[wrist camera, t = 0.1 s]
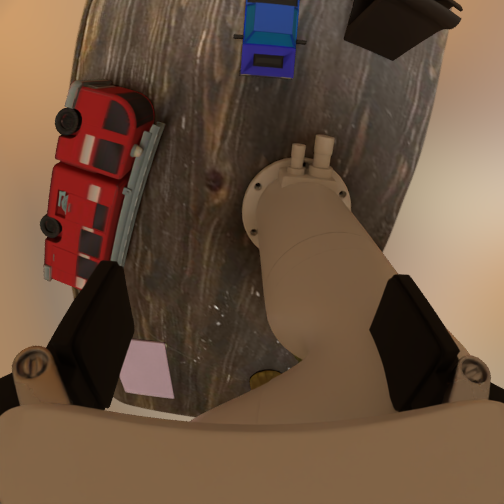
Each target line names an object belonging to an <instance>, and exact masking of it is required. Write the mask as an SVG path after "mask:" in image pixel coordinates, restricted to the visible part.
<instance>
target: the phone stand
mask: <svg viewBox="0 0 504 504" xmlns="http://www.w3.org/2000/svg"><path fill="white" fill-rule="evenodd" d="M451 7H455V8H456V9H458V10H459V11H462V10H463V9H462V7H461V6H460V5H459V4H458V3H456V2H455V1H454V0H354V4H353V8H352V11H351V15H350V19H349V22H348V26H347V30H346V33H345V37H344V40H346V41H348V42H351V43H353V44H356V45H358V46H361V47H363V48H366V49H368V50H370V51H373V52H375V53H377V54H379V55H382V56H384V57H386V58H388V59H390V60H392V61H393V60H395V59H396V58H398V57H399V56H401V55H402V54H404V53H405V52H407V51H408V50H410V49H411V48H413V47H414V46H416V45H418V44H419V43H421V42H422V41H424V40H425V39H427V38H428V37H430V36H432V35H433V34H435V33H436V32H438V31H440V30H443V29H452V28H454V27H456V26H457V25H458V24H459V22H460V20H461V18H460V17H458V16H457V15H456V14H454V13H453V12H451V11H450V10H449V9H450V8H451Z"/></svg>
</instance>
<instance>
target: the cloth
mask: <svg viewBox="0 0 504 504" xmlns="http://www.w3.org/2000/svg"><path fill="white" fill-rule="evenodd" d="M120 379H121V381H122V384H123V387H124V389H125V392H129V393H135V394H142V395H149V396H156V397H164V398H173V399H174V393H173V388H172V383H171V377H170V372H169V366H168V360H167V354H166V348H165V342H156V341H147V340H138V339H132V340H131V343H130V345H129V348H128V351H127V354H126V357H125V360H124V363H123V366H122V369H121V372H120Z"/></svg>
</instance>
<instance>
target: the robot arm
mask: <svg viewBox="0 0 504 504" xmlns="http://www.w3.org/2000/svg"><path fill="white" fill-rule="evenodd" d="M334 139H335V138H334V137H331V136H327V135H320V134H316V138H315V145H314V159H311V158H307V157H305V149H306V145H304V144H299V143H293V144H292V151H291V156H292V157H291V158H285V159H282V160H279V161H276V162H274V163H272V164H270V165H268V166H266V167H265V168H264V169H263V170H261V171H260V172H259V173H258V174H257V175H256V176H255V177H254V179H253V180H252V181H251V182H250V184H249V186H248V188H247V190H246V192H245V195H244V199H243V204H242V220H243V224H244V228H245V230H246V232H247V234H248V236H249V238H250V239H251V241H252V242H253V243H254V245H256V246H257V247H258V248H259V250H260V260H261V271H262V281H263V291H264V301H265V309H266V314H267V319H268V322H269V325H270V328H271V330H272V332H273V334H274V335H275V337H276V338H277V339H278V341H279V342H280V343H281V344H282V345H283V346H284V347H285V348H286V349H287V350H289V351H290V352H291V353H292V354H294V355H295V356H297V357H298V358H300V359H302V361H301V362H299V363H298V364H297V365H296V366H294V367H292V368H291V369H289V370H288V371H286V372H284V373H282V374H280V375H279V376H277V377H275V378H273V379H272V380H270V381H269V382H267V383H265V384H263V385H261V386H259V387H257V388H255V389H253V390H251V391H249V392H247V393H245V394H243V395H241V396H239V397H237V398H234V399H232V400H230V401H228V402H226V403H224V404H221V405H219V406H217V407H215V408H213V409H211V410H209V411H207V412H205V413H203V414H201V415H199V416H198V417H196V418H194V419H193V420H191V421H190V422H187V421H177V420H167V419H159V418H151V417H143V416H136V415H129V414H123V413H117V412H111V411H105V408H109V407H110V405H111V401H112V398H113V395H114V391H115V388H116V385H117V382H118V379H119V376H120V372H121V369H122V366H123V363H124V360H125V357H126V354H127V351H128V348H129V345H130V343H131V340H132V337H133V334H134V321H133V317H132V312H131V307H130V302H129V297H128V292H127V286H126V281H125V275H124V269H123V267H122V266H119V264H118V262H117V261H106V260H102V261H100V262H99V264H98V265H97V267H96V268H95V270H94V271H93V273H92V274H91V276H90V277H89V279H88V280H87V282H86V283H85V285H84V286H83V288H82V290H81V291H80V293H79V294H78V296H77V297H76V298H75V299H74V301H73V302H72V304H71V306H70V307H69V309H68V311H67V313H66V314H65V316H64V317H63V319H62V321H61V322H60V324H59V326H58V328H57V329H56V331H55V333H54V335H53V336H52V338H51V340H50V342H49V343H48V345H47V347H46V348H45V347H42V346H31V347H28V348H26V349H24V350H22V351H21V352H20V353H19V354H18V355H17V356H16V357H15V359H14V361H13V364H12V373H11V374H8V375H6V376H4V377H2V378H0V504H504V389H502V388H500V387H498V386H497V385H495V384H493V383H491V382H490V380H491V375H490V371H489V368H488V367H487V365H486V364H485V363H484V362H483V361H482V360H480V359H479V358H477V357H474V356H471V355H470V354H469V353H468V351H467V350H466V349H465V348H464V347H463V345H462V344H461V343H460V342H459V341H458V340H457V339H456V338H455V337H454V336H453V335H452V334H451V333H450V332H449V331H448V330H447V329H446V327H445V326H444V324H443V323H442V321H441V320H440V318H439V317H438V315H437V314H436V312H435V311H434V309H433V308H432V306H431V305H430V304H429V302H428V301H427V299H426V298H425V296H424V295H423V293H422V292H421V291H420V289H419V288H418V286H417V285H416V284H415V282H414V281H413V279H412V278H411V277H410V276H409V275H401V274H398V273H397V272H396V270H395V269H394V268H393V267H392V265H391V264H390V262H389V261H388V260H387V259H386V257H385V256H384V254H383V253H382V252H381V250H380V249H379V248H378V246H377V245H376V243H375V242H374V241H373V239H372V238H371V237H370V235H369V234H368V233H367V232H366V230H365V229H364V228H363V226H362V225H361V224H360V222H359V221H358V220H357V219H356V217H355V216H354V215H353V214H352V212H351V200H350V195H349V192H348V189H347V187H346V185H345V183H344V182H343V180H342V179H341V177H340V176H339V175H338V174H337V173H336V172H335V171H334V170H333V168H332V167H330V166H329V165H330V158H331V155H332V152H333V146H334ZM304 162H305V163H306V165H305V166H303V163H304ZM256 183H260V186H256ZM341 191H342V193H341V194H339V193H340V192H341ZM252 229H256V230H255V231H252Z"/></svg>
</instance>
